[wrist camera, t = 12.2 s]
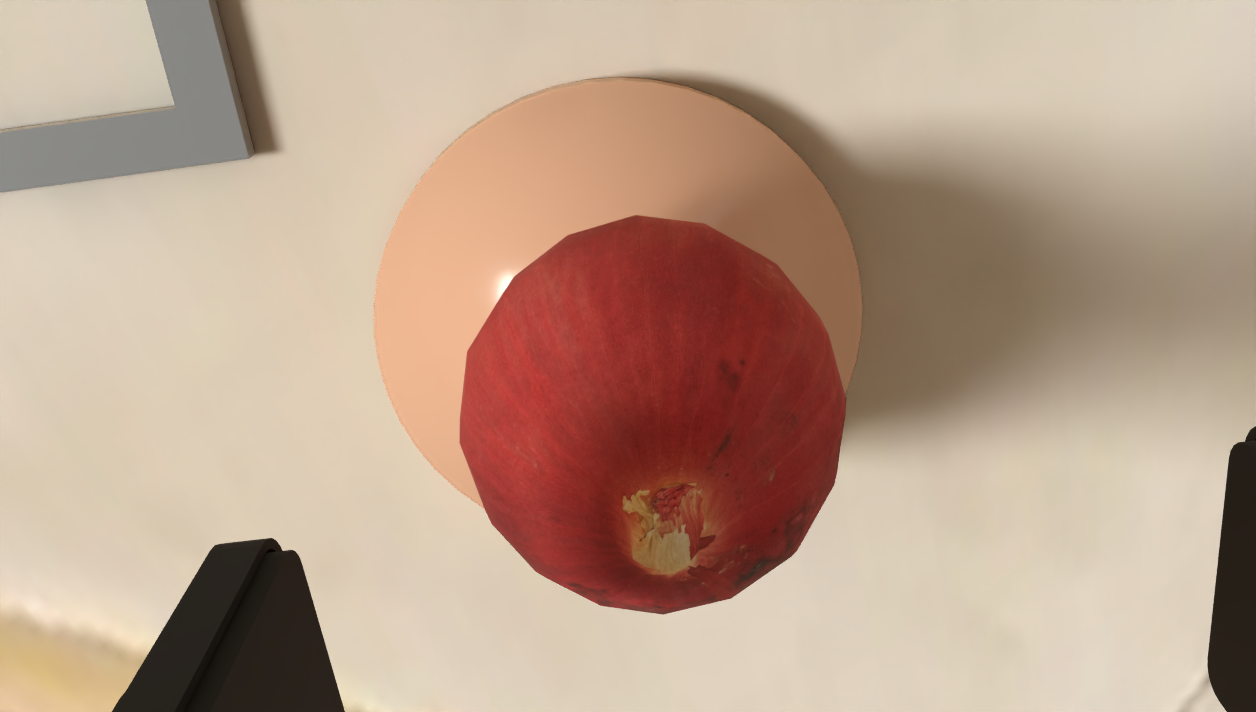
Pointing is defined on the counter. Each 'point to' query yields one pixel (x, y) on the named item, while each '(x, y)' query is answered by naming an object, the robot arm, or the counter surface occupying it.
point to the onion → (652, 415)
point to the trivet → (587, 225)
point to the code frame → (145, 115)
